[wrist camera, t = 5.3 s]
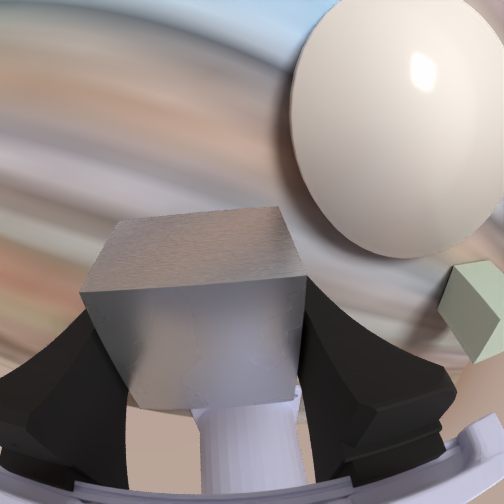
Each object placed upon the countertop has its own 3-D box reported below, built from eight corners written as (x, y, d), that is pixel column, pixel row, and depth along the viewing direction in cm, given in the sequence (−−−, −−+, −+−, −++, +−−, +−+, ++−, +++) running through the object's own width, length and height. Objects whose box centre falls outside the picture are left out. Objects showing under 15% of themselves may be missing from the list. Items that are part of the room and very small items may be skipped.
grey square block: (277, 324, 13) (293, 400, 10) (152, 333, 13) (140, 409, 10) (278, 206, 11) (307, 275, 7) (118, 221, 10) (79, 292, 7)
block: (471, 301, 18) (508, 348, 14) (437, 310, 18) (473, 364, 14) (489, 259, 16) (533, 306, 12) (453, 265, 16) (500, 319, 12)
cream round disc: (485, 239, 15) (495, 247, 14) (285, 258, 14) (289, 271, 13) (513, 32, 8) (525, 33, 7) (281, -40, 7) (286, -49, 6)
